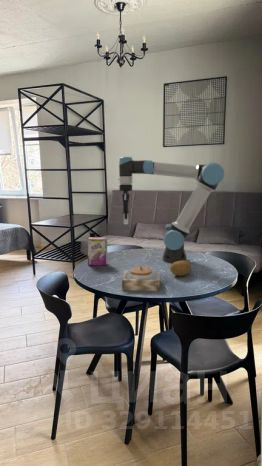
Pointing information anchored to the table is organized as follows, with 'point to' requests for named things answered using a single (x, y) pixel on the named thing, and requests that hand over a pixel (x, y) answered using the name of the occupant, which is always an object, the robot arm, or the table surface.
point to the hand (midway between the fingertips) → (126, 224)
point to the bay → (140, 284)
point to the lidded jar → (141, 273)
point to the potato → (180, 267)
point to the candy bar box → (97, 251)
